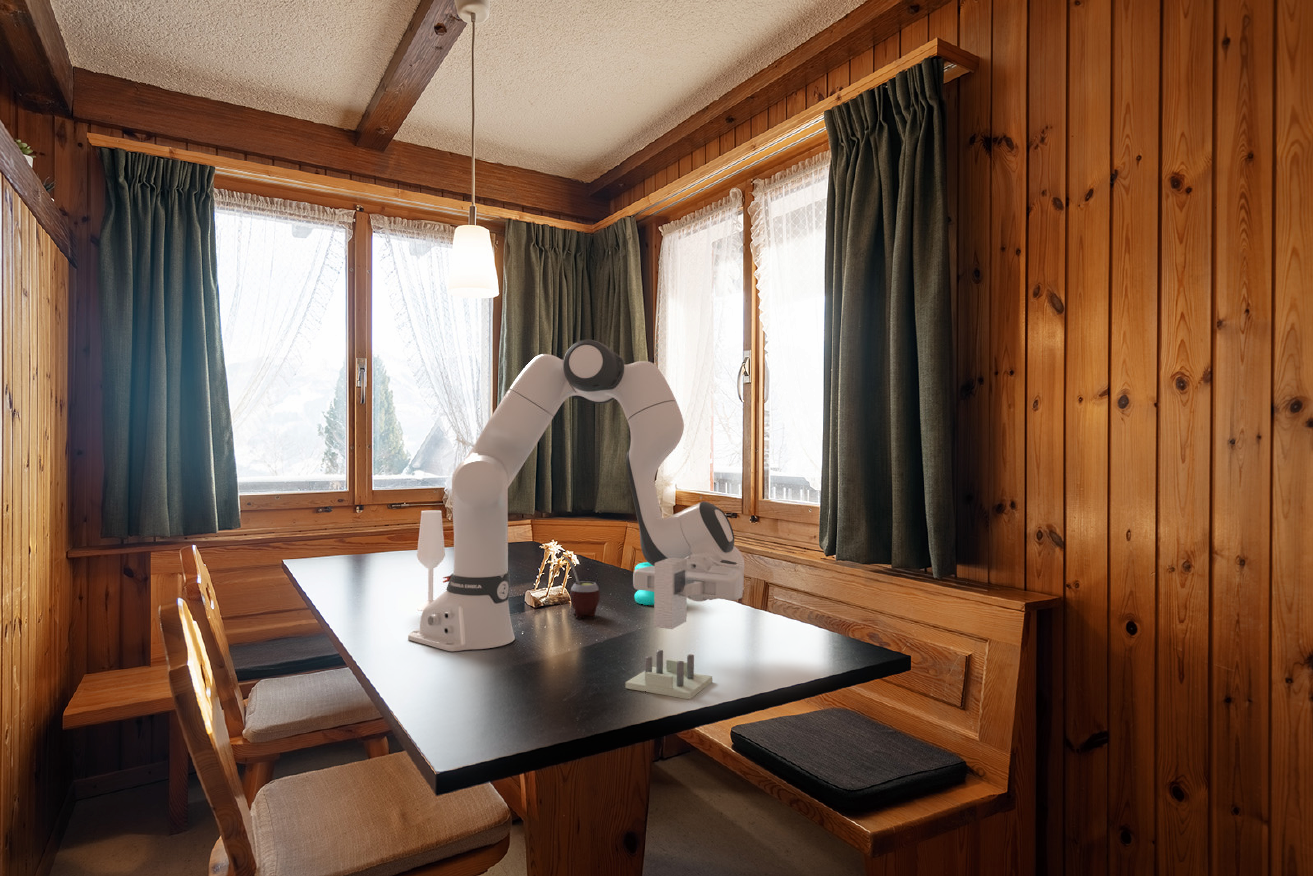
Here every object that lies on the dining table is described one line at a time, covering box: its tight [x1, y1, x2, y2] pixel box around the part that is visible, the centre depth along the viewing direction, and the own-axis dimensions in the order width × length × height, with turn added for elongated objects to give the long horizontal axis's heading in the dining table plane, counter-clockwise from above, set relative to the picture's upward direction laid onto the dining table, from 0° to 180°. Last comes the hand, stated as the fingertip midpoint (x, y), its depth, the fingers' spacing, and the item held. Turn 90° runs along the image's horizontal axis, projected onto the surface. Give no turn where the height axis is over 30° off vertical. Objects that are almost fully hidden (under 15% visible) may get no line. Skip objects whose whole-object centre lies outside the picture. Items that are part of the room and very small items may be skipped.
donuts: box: [634, 561, 655, 606], centre depth 196 cm, size 10×10×10 cm
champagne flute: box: [416, 509, 446, 612], centre depth 188 cm, size 7×7×24 cm
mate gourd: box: [561, 554, 601, 620], centre depth 180 cm, size 8×8×15 cm
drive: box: [653, 558, 688, 630], centre depth 132 cm, size 3×6×11 cm, turn 154°
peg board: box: [625, 649, 713, 700], centre depth 132 cm, size 12×10×5 cm
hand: (669, 590), depth 131 cm, fingers closed on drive, 3 cm apart
